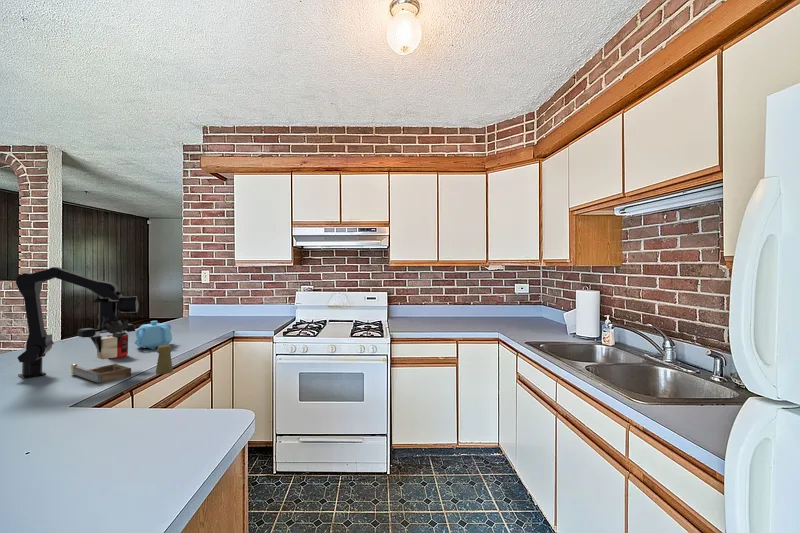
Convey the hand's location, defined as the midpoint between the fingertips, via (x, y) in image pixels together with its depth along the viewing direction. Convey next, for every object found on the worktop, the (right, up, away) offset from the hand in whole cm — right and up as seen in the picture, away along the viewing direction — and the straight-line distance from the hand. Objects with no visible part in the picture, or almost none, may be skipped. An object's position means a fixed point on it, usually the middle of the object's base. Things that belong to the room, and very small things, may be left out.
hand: (107, 351), depth 160 cm
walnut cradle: (+7, -8, -10) cm, 14 cm away
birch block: (0, -3, 0) cm, 3 cm away
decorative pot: (-9, -8, +44) cm, 45 cm away
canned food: (-11, -8, +21) cm, 25 cm away
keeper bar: (+1, -7, -12) cm, 14 cm away
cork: (+24, -9, -1) cm, 26 cm away
